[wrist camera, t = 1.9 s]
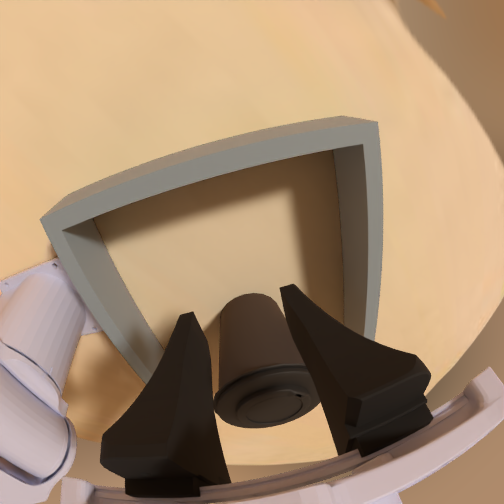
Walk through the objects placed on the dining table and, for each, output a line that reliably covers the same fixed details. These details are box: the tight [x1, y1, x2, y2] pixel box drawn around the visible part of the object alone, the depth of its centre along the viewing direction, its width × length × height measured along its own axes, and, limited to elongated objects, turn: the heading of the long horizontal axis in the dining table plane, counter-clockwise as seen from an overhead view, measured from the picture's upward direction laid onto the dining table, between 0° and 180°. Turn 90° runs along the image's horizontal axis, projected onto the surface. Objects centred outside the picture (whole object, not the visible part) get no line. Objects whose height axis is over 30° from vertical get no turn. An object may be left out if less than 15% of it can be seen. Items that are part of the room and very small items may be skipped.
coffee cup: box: [213, 293, 321, 428], centre depth 21 cm, size 8×8×10 cm
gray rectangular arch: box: [40, 116, 383, 385], centre depth 21 cm, size 20×20×4 cm
